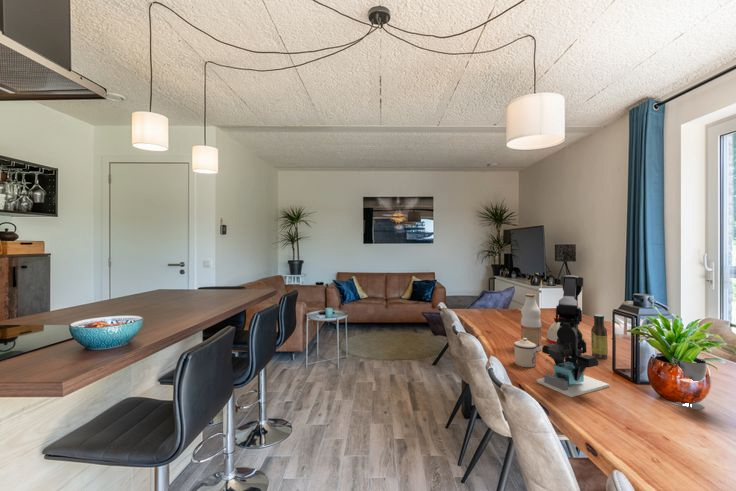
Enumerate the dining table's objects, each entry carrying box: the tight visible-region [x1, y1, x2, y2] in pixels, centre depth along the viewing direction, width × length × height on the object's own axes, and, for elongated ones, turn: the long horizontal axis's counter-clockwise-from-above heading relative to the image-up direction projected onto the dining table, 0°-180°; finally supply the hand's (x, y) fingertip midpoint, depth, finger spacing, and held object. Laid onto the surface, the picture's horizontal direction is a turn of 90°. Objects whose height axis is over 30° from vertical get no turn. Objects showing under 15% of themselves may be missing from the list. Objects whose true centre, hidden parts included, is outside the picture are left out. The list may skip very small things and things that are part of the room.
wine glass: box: [672, 356, 707, 411], centre depth 109 cm, size 8×8×15 cm
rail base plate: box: [536, 373, 610, 398], centre depth 125 cm, size 21×14×4 cm, turn 113°
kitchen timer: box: [546, 317, 560, 345], centre depth 180 cm, size 14×14×15 cm
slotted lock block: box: [553, 362, 585, 385], centre depth 124 cm, size 8×6×6 cm
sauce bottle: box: [590, 313, 609, 360], centre depth 156 cm, size 6×6×20 cm
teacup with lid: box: [513, 338, 537, 368], centre depth 148 cm, size 12×9×12 cm
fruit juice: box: [520, 293, 542, 352], centre depth 169 cm, size 9×9×28 cm
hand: (568, 377), depth 124 cm, fingers closed on slotted lock block, 6 cm apart
